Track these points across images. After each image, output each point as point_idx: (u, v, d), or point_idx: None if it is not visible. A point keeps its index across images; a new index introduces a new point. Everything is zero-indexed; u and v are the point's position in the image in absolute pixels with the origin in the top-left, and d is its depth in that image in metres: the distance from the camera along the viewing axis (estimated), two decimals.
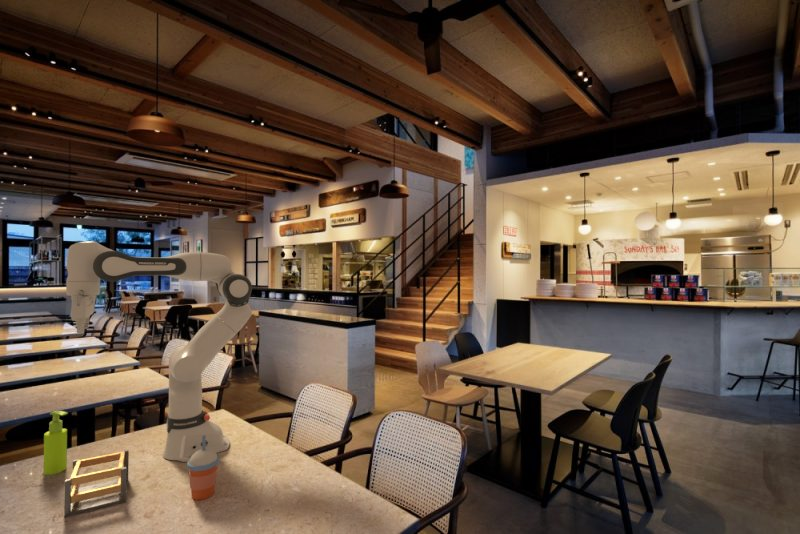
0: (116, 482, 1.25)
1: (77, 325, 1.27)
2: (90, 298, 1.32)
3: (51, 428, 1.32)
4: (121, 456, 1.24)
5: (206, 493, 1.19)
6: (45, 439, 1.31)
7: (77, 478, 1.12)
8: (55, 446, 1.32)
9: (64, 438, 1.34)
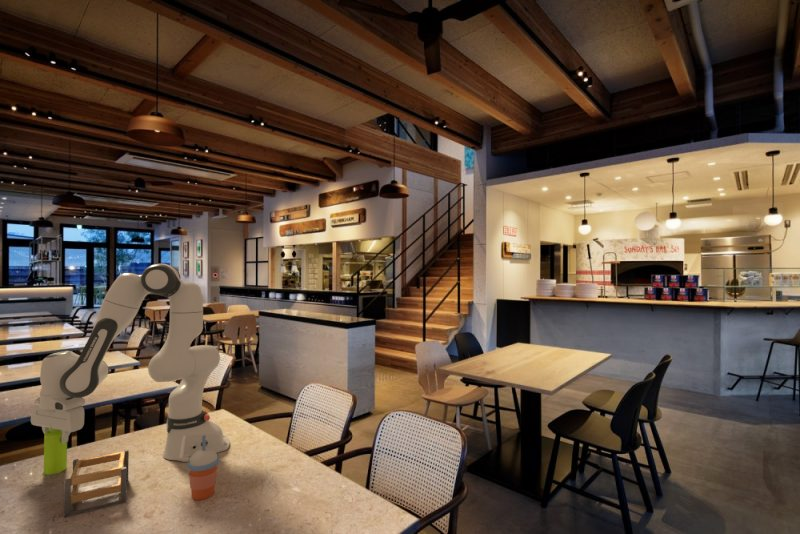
0: (116, 482, 1.25)
1: None
2: None
3: (51, 428, 1.32)
4: (121, 456, 1.24)
5: (206, 493, 1.19)
6: (45, 439, 1.31)
7: (77, 478, 1.12)
8: (55, 446, 1.32)
9: None
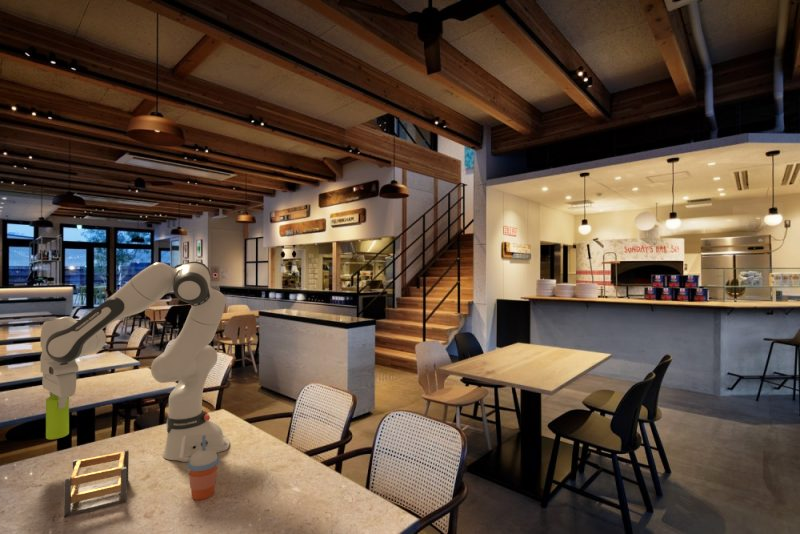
0: (116, 482, 1.25)
1: None
2: None
3: (51, 393, 1.32)
4: (121, 456, 1.24)
5: (206, 493, 1.19)
6: (46, 403, 1.32)
7: (77, 478, 1.12)
8: (54, 411, 1.31)
9: None
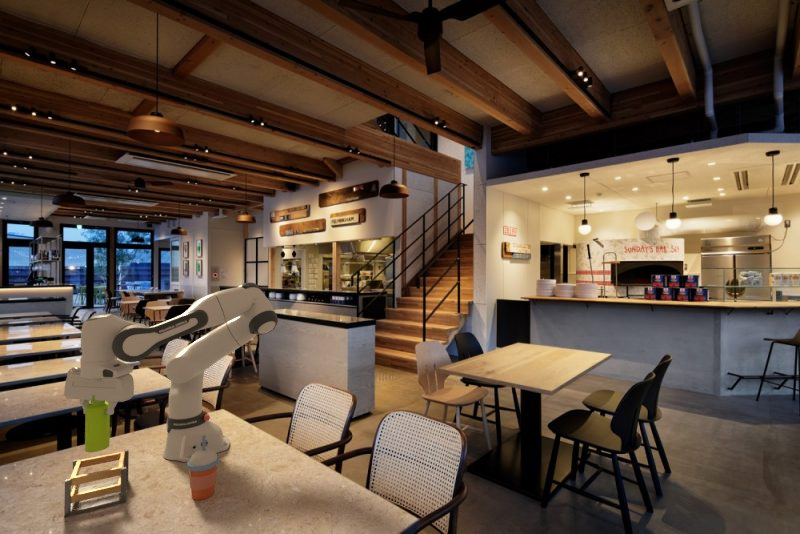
0: (116, 482, 1.25)
1: None
2: (85, 379, 1.18)
3: (94, 400, 1.18)
4: (121, 456, 1.24)
5: (206, 493, 1.19)
6: (88, 412, 1.17)
7: (77, 478, 1.12)
8: (101, 419, 1.18)
9: None
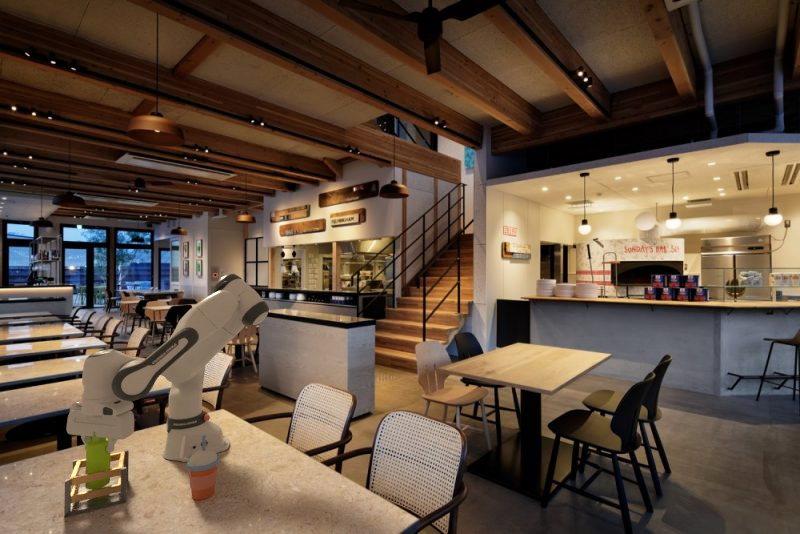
0: (116, 482, 1.25)
1: None
2: (87, 416, 1.17)
3: (95, 437, 1.17)
4: (121, 456, 1.24)
5: (206, 493, 1.19)
6: (89, 450, 1.16)
7: (77, 478, 1.12)
8: (101, 456, 1.17)
9: None
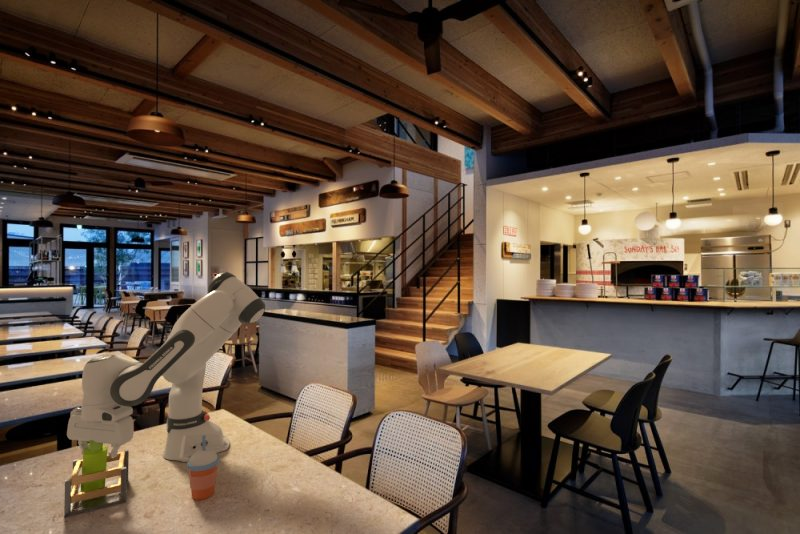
0: (116, 482, 1.25)
1: None
2: (86, 421, 1.17)
3: (92, 447, 1.17)
4: (121, 456, 1.24)
5: (206, 493, 1.19)
6: (85, 459, 1.16)
7: (77, 478, 1.12)
8: (96, 466, 1.17)
9: (105, 457, 1.19)
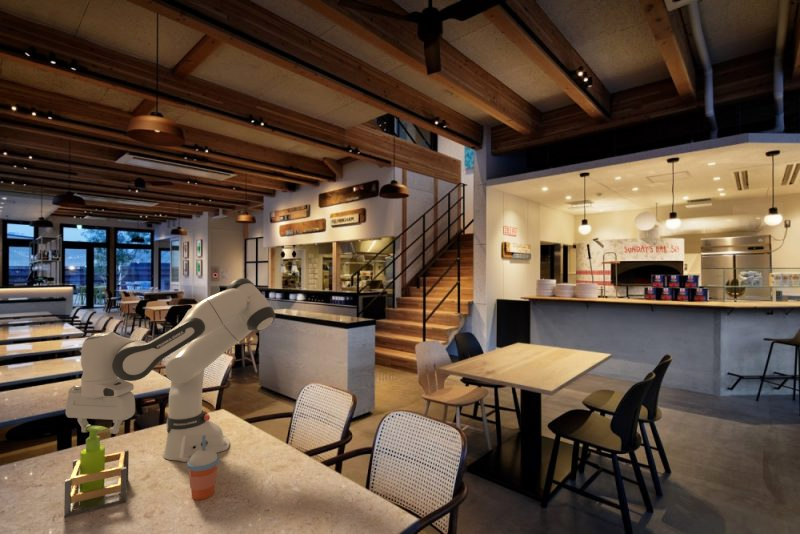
0: (116, 482, 1.25)
1: None
2: (86, 398, 1.17)
3: (88, 445, 1.18)
4: (121, 456, 1.24)
5: (206, 493, 1.19)
6: (82, 458, 1.17)
7: (77, 478, 1.12)
8: (94, 465, 1.18)
9: (103, 456, 1.20)
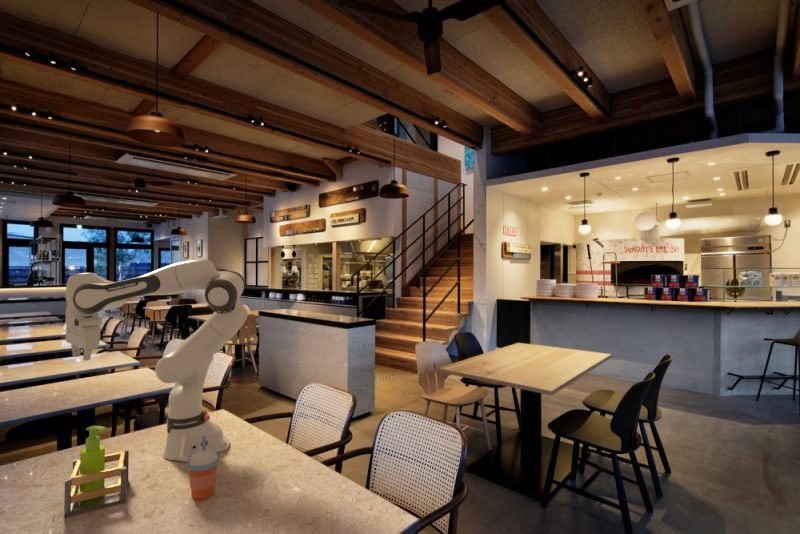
0: (116, 482, 1.25)
1: None
2: None
3: (88, 445, 1.18)
4: (121, 456, 1.24)
5: (206, 493, 1.19)
6: (82, 458, 1.17)
7: (77, 478, 1.12)
8: (94, 465, 1.18)
9: (102, 456, 1.20)
